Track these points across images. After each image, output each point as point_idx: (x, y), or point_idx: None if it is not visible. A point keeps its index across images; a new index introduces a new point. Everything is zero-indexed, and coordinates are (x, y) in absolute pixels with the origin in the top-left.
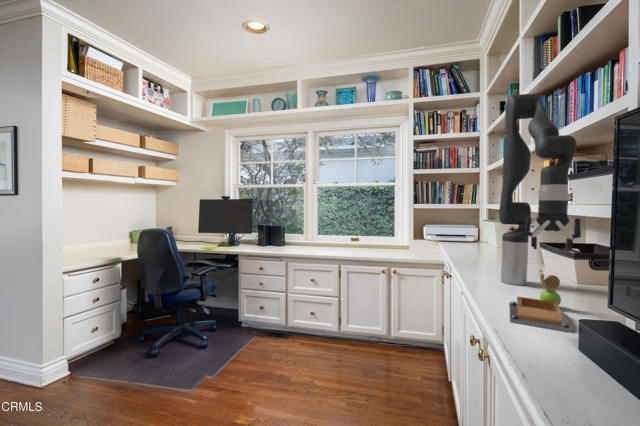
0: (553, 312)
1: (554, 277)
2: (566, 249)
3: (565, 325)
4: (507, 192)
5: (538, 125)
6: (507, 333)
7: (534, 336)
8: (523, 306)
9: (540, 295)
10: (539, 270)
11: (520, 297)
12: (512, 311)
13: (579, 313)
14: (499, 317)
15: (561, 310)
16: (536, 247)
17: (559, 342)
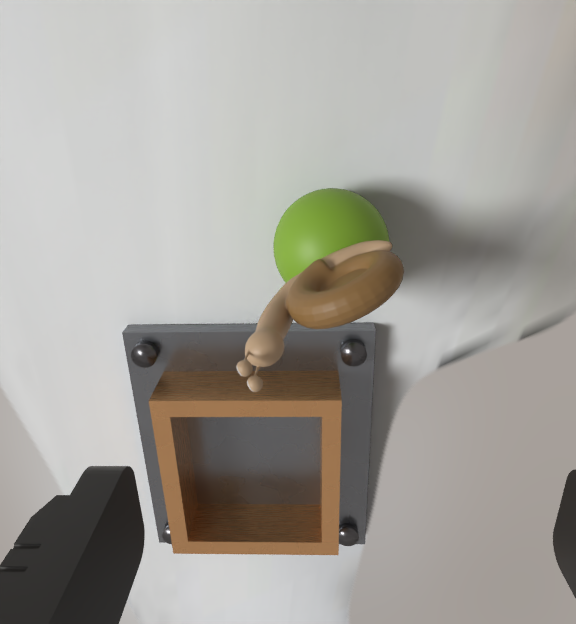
0: (307, 551)
1: (362, 314)
2: (571, 533)
3: (344, 542)
4: None
5: None
6: (169, 617)
7: (243, 605)
8: (191, 541)
9: (274, 244)
10: (239, 371)
11: (166, 414)
12: (156, 464)
13: (460, 274)
14: None
15: (369, 337)
16: (136, 570)
17: (309, 615)
